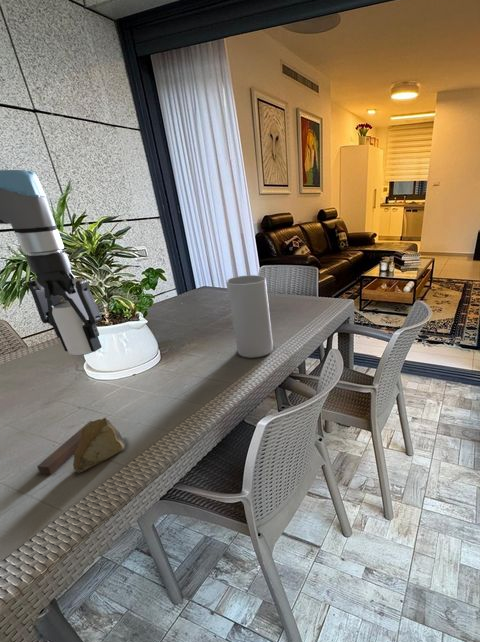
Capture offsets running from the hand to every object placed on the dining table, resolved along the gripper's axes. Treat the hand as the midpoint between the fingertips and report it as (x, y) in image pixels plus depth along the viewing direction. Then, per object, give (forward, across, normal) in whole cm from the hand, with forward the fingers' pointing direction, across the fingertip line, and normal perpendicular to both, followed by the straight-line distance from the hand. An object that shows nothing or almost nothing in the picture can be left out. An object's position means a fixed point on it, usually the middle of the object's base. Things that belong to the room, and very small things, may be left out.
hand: (83, 349), depth 87 cm
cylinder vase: (+17, -32, -37) cm, 52 cm away
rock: (+17, -12, +20) cm, 29 cm away
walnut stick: (+17, -4, +17) cm, 25 cm away
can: (+1, 0, 0) cm, 1 cm away
